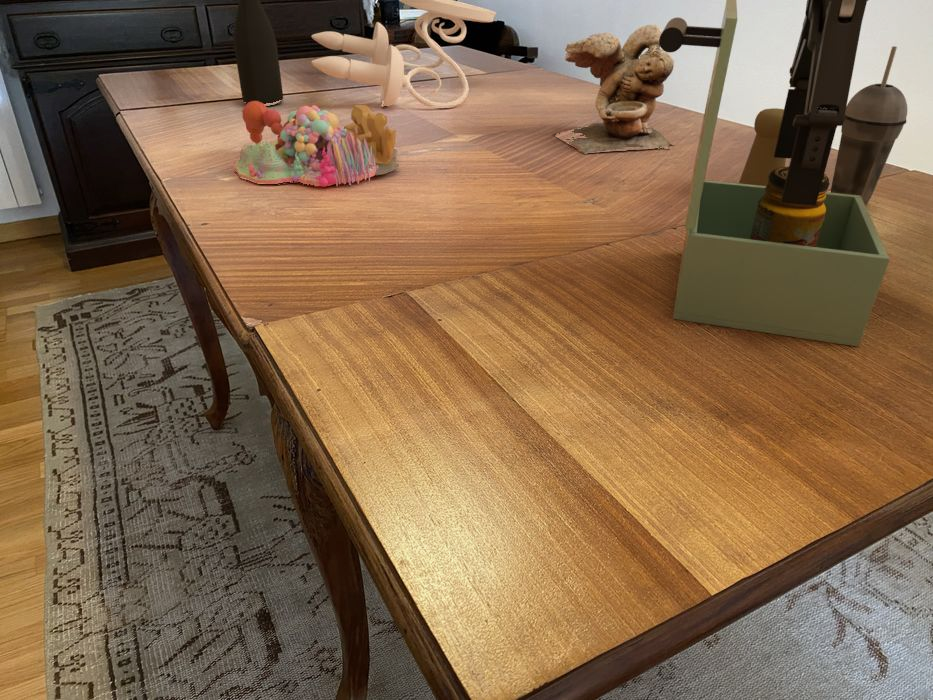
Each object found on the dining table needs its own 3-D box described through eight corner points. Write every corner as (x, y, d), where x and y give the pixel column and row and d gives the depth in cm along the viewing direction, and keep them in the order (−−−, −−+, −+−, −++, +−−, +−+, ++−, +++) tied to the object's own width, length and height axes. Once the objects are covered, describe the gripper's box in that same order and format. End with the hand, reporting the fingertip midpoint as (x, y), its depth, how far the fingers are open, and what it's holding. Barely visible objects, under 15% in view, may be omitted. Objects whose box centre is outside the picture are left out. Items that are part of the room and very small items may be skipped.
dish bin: (836, 272, 77) (860, 195, 72) (858, 347, 64) (890, 258, 59) (682, 252, 81) (695, 178, 77) (672, 319, 68) (688, 234, 63)
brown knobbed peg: (728, 189, 100) (745, 109, 94) (750, 180, 103) (768, 102, 98) (768, 200, 96) (788, 117, 90) (790, 190, 100) (810, 110, 94)
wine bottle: (250, 98, 146) (225, -70, 130) (288, 99, 146) (267, -70, 130) (238, 107, 139) (209, -69, 123) (277, 108, 139) (254, -69, 123)
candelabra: (476, 0, 169) (318, -36, 159) (522, 27, 132) (319, -17, 122) (458, 86, 179) (309, 58, 169) (496, 135, 142) (307, 102, 132)
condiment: (813, 307, 68) (849, 188, 62) (723, 301, 70) (749, 182, 63) (795, 275, 75) (826, 163, 68) (713, 269, 76) (736, 158, 69)
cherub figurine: (586, 157, 112) (598, 36, 103) (541, 129, 127) (548, 20, 117) (682, 147, 117) (702, 31, 108) (628, 121, 132) (641, 16, 122)
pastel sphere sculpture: (376, 137, 121) (373, 81, 116) (422, 178, 103) (420, 114, 98) (226, 153, 113) (216, 93, 108) (247, 201, 95) (235, 131, 90)
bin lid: (736, -3, 67) (673, -6, 68) (737, 18, 54) (659, 13, 55) (700, 175, 76) (645, 168, 78) (694, 230, 63) (628, 221, 64)
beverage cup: (881, 203, 95) (933, 44, 85) (872, 219, 90) (927, 52, 80) (823, 193, 99) (867, 38, 88) (812, 208, 94) (857, 46, 83)
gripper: (793, -89, 66) (748, 139, 77) (821, -88, 46) (753, 221, 57) (882, -90, 64) (822, 145, 75) (952, -89, 44) (855, 231, 55)
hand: (792, 178), depth 66 cm, fingers open, 13 cm apart
